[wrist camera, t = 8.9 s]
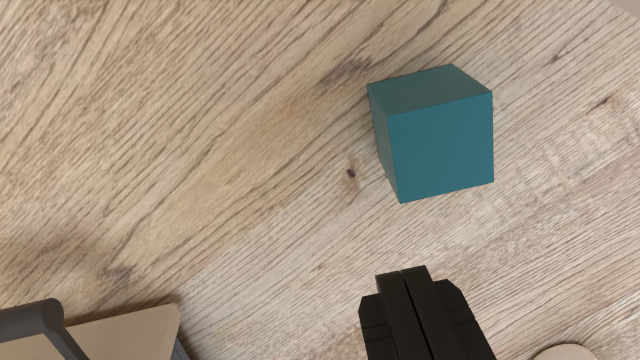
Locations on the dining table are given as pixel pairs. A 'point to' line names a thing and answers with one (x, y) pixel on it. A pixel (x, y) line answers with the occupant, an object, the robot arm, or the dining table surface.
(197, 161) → the dining table surface
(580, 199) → the dining table surface
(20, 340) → the drawer
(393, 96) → the teal block
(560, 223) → the dining table surface
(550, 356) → the drinking glass
